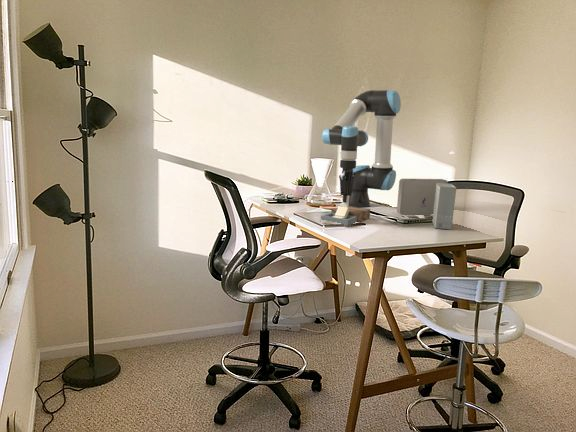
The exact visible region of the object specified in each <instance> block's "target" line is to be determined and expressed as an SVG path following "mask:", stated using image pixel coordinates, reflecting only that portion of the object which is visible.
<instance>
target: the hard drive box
mask: <svg viewBox="0 0 576 432" xmlns="http://www.w3.org/2000/svg"><path fill="white" fill-rule="evenodd" d="M456 195H457V187H456V186H455V185H454V184H452V183H448V184H443V183H436V193H435V202H434V211H433V214H432V215H433V216H432V217H433V219H431V220H432V224H433V228H434V229H441V230H442V229H443V230H452V229H453V228H452V227H453V219H454V211H455V204H456Z"/></svg>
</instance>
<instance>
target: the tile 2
mask: <svg viewBox="0 0 576 432" xmlns="http://www.w3.org/2000/svg"><path fill="white" fill-rule="evenodd" d="M337 208H338V209H337V211H336V214H335V216H341V217H345V219H346V218H347V216H348V213H349V211H350V210H349V209H348V208H347V207H342V206H339V205H338V206H337Z"/></svg>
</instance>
